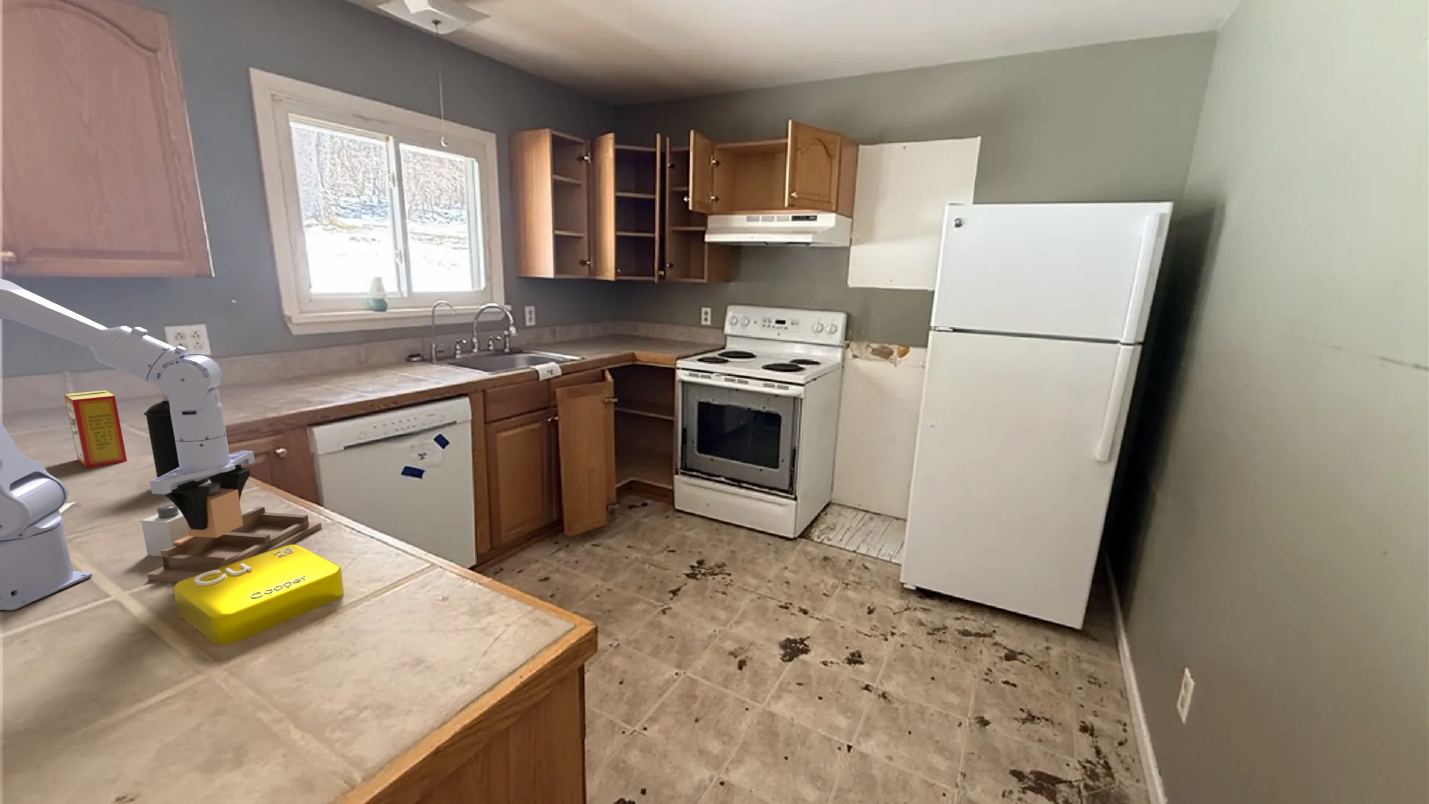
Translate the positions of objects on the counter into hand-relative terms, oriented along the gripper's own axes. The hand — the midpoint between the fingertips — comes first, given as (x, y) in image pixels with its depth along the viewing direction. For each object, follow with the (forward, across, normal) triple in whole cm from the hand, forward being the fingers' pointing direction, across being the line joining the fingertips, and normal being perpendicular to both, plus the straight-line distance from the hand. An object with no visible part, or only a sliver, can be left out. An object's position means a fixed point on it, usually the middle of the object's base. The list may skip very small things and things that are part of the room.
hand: (214, 521), depth 88 cm
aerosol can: (+7, +30, +38) cm, 49 cm away
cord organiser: (+7, +4, 0) cm, 8 cm away
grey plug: (+7, +3, +11) cm, 13 cm away
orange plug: (+2, 0, 0) cm, 2 cm away
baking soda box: (+7, +40, +69) cm, 80 cm away
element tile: (+8, -9, -15) cm, 19 cm away
